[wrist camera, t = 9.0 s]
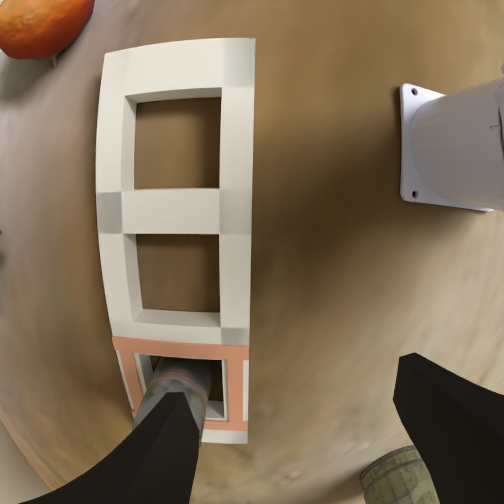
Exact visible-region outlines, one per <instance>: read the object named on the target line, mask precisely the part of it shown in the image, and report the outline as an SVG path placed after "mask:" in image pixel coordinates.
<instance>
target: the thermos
mask: <svg viewBox="0 0 504 504" xmlns="http://www.w3.org/2000/svg"><path fill="white" fill-rule="evenodd" d="M360 482H361V485H362V486H363V489H364V499H365V502H366V504H440V503H439V499H438V496H437V493H436V490H435V487H434V484H433V482H432V479H431V476H430V474H429V472H428V470H427V467H426V465H425V463H424V462H423V460H422V458H421V456H420V454H419V453H418V451H417V449H416V447H415V445H411V446H407V447H403V448H400V449H398V450H395V451H393V452H390V453H388V454H387V455H385V456H383V457H381V458H379V459H378V460H376V461H375V462H373V463H372V464H371V465H369V466H368V467H367V468H366V469H365V470H364V471H363V473H362V475H361V476H360Z"/></svg>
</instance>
